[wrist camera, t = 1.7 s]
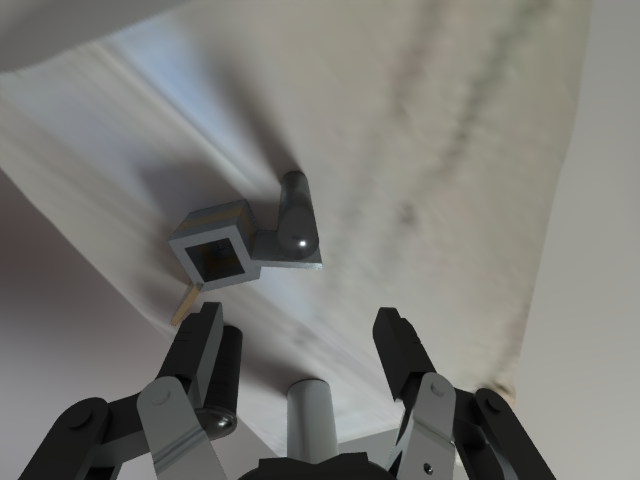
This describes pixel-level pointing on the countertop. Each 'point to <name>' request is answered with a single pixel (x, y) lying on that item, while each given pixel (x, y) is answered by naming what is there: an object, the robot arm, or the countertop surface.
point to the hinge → (226, 250)
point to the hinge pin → (296, 218)
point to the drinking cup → (222, 388)
